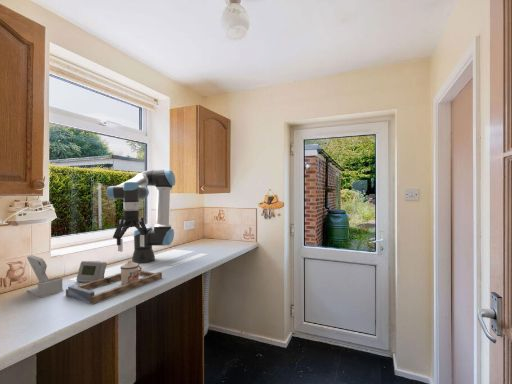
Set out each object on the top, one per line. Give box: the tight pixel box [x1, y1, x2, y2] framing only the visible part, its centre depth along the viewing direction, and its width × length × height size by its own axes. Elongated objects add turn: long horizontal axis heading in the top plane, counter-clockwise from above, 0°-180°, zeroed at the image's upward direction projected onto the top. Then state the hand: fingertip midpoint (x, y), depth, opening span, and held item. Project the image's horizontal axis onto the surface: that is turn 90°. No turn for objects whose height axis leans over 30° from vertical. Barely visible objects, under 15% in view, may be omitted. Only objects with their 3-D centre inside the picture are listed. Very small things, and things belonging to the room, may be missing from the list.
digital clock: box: [76, 260, 107, 283], centre depth 148 cm, size 16×9×11 cm, turn 67°
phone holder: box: [26, 254, 64, 298], centre depth 134 cm, size 17×10×18 cm, turn 57°
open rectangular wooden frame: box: [65, 270, 163, 305], centre depth 140 cm, size 39×21×4 cm, turn 152°
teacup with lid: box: [120, 259, 143, 285], centre depth 148 cm, size 12×9×12 cm
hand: (131, 248), depth 147 cm, fingers open, 13 cm apart
